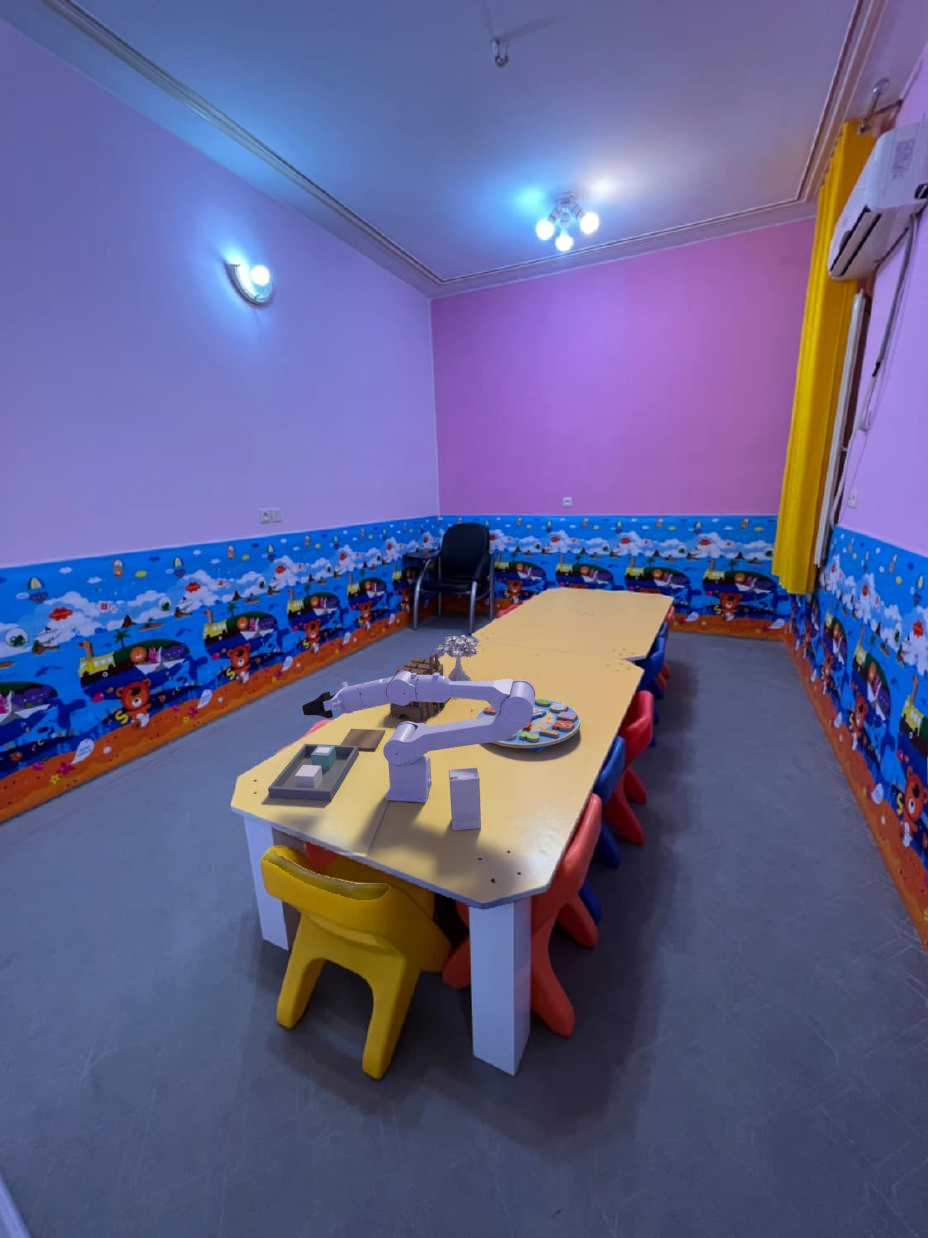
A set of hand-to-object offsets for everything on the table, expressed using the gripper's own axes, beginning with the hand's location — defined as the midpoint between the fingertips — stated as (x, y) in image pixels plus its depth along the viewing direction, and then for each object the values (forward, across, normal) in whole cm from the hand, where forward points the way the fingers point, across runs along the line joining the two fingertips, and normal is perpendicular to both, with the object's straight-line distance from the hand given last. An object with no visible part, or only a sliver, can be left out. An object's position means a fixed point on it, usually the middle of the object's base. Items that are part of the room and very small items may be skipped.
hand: (313, 707), depth 111 cm
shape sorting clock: (-39, -43, +21) cm, 62 cm away
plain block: (+7, -3, +18) cm, 19 cm away
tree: (-14, -71, +5) cm, 73 cm away
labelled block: (+8, -11, +15) cm, 20 cm away
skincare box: (-30, 0, +31) cm, 43 cm away
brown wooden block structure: (-6, -49, +10) cm, 51 cm away
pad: (+3, -24, +13) cm, 28 cm away
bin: (+8, -7, +17) cm, 20 cm away
